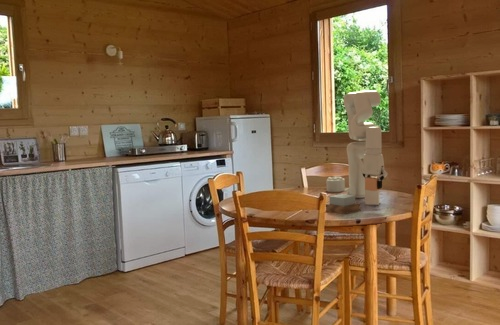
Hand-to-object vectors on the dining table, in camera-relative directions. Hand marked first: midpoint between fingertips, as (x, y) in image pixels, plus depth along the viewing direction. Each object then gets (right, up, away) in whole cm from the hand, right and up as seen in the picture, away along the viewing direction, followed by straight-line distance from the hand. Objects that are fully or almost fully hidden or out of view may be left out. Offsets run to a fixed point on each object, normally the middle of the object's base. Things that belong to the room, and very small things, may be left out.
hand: (373, 187), depth 239 cm
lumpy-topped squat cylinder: (-8, -6, +65) cm, 65 cm away
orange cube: (0, -1, 0) cm, 1 cm away
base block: (-15, -12, +2) cm, 19 cm away
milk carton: (+4, -10, +17) cm, 20 cm away
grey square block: (-15, -8, +1) cm, 18 cm away
